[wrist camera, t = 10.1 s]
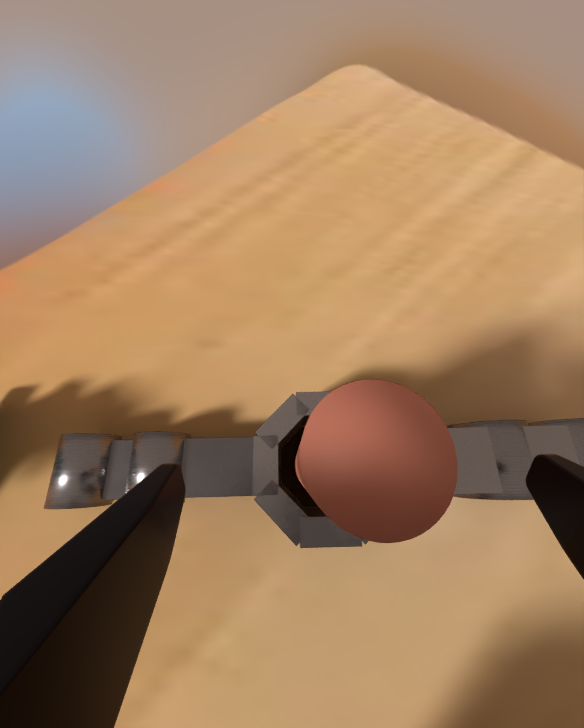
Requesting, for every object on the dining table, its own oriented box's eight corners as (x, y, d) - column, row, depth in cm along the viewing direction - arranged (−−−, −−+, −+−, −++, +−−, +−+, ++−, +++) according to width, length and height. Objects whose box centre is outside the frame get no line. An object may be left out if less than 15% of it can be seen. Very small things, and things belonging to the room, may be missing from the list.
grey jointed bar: (587, 522, 17) (678, 538, 13) (64, 536, 17) (-7, 557, 13) (548, 401, 19) (615, 384, 15) (89, 412, 19) (37, 397, 15)
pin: (346, 491, 17) (473, 540, 5) (295, 492, 17) (303, 544, 5) (342, 439, 18) (440, 377, 6) (293, 440, 18) (298, 381, 6)
